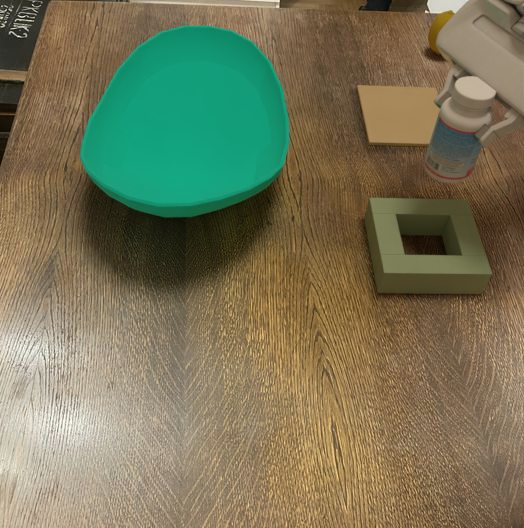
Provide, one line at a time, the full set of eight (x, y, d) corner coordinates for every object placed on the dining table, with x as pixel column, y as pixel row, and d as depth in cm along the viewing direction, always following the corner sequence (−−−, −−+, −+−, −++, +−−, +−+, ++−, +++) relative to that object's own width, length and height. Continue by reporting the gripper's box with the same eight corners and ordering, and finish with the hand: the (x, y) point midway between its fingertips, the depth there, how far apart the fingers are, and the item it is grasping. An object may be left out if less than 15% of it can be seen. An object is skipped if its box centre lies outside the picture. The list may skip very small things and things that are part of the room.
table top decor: (272, 295, 78) (280, 218, 67) (60, 271, 78) (34, 191, 68) (293, 113, 101) (301, 34, 90) (128, 96, 101) (117, 15, 90)
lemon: (421, 58, 113) (433, 14, 106) (425, 44, 116) (437, 0, 109) (450, 65, 112) (464, 21, 106) (454, 50, 115) (468, 6, 109)
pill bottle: (475, 186, 75) (509, 104, 66) (426, 185, 75) (454, 102, 65) (464, 154, 78) (496, 72, 69) (418, 153, 78) (443, 71, 69)
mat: (434, 90, 107) (435, 87, 107) (453, 147, 98) (455, 144, 97) (356, 88, 106) (357, 84, 106) (368, 145, 97) (369, 142, 97)
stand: (458, 220, 88) (467, 199, 85) (481, 294, 80) (492, 274, 77) (363, 218, 87) (369, 197, 84) (377, 293, 79) (384, 272, 76)
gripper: (633, 86, 63) (525, 187, 68) (502, -2, 73) (417, 92, 78) (626, 54, 58) (511, 166, 63) (486, -36, 68) (396, 67, 73)
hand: (458, 124), depth 71 cm, fingers closed on pill bottle, 6 cm apart
